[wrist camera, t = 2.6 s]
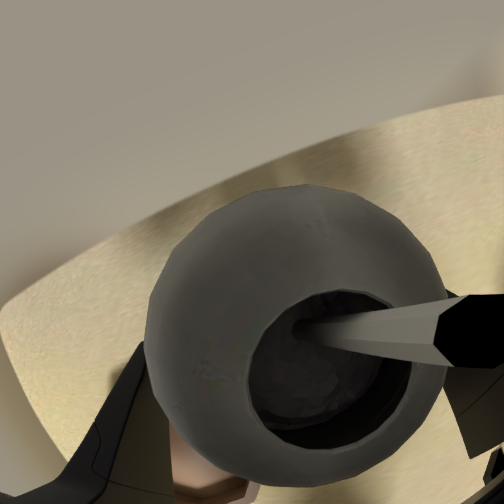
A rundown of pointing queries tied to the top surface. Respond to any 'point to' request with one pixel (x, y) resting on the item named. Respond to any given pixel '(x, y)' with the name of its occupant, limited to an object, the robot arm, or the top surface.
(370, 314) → the beverage cup
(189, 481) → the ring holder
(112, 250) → the top surface
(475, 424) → the robot arm
